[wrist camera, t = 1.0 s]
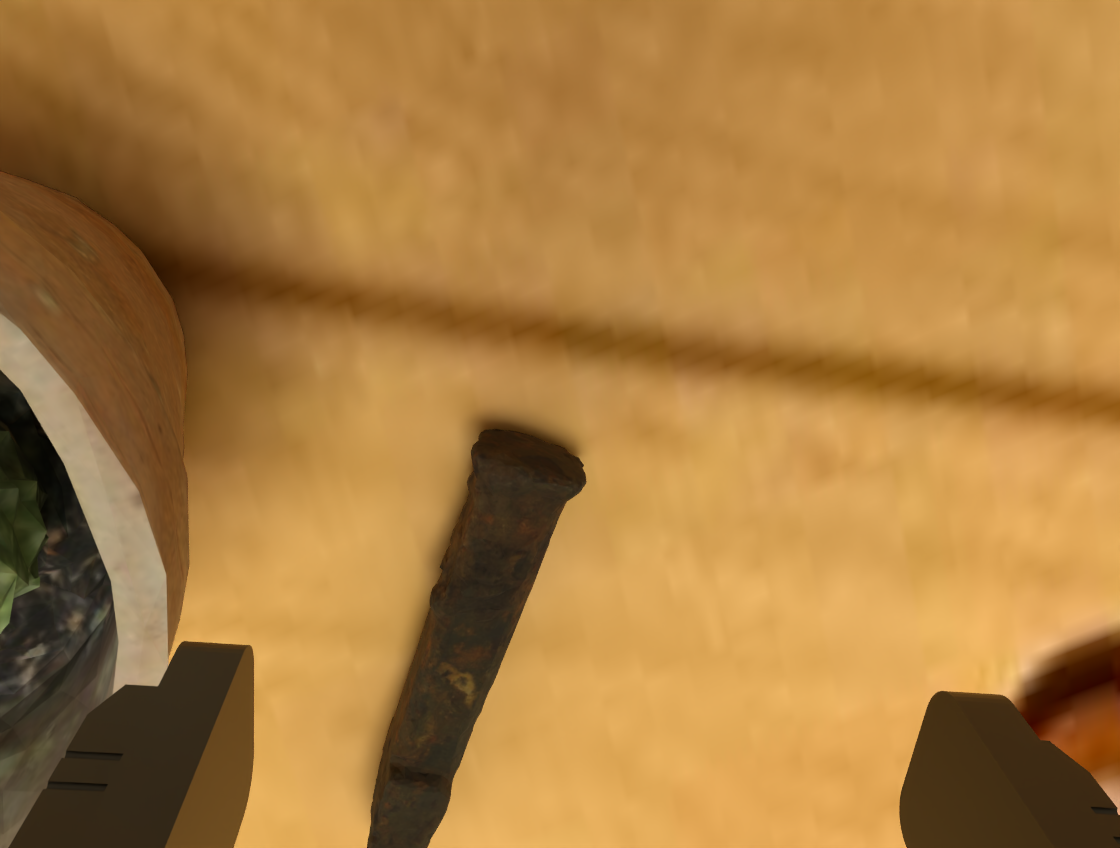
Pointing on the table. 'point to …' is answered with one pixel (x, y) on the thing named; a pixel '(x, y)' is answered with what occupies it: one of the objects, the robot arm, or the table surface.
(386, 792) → the hand tool
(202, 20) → the table surface
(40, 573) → the potted plant
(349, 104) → the table surface
